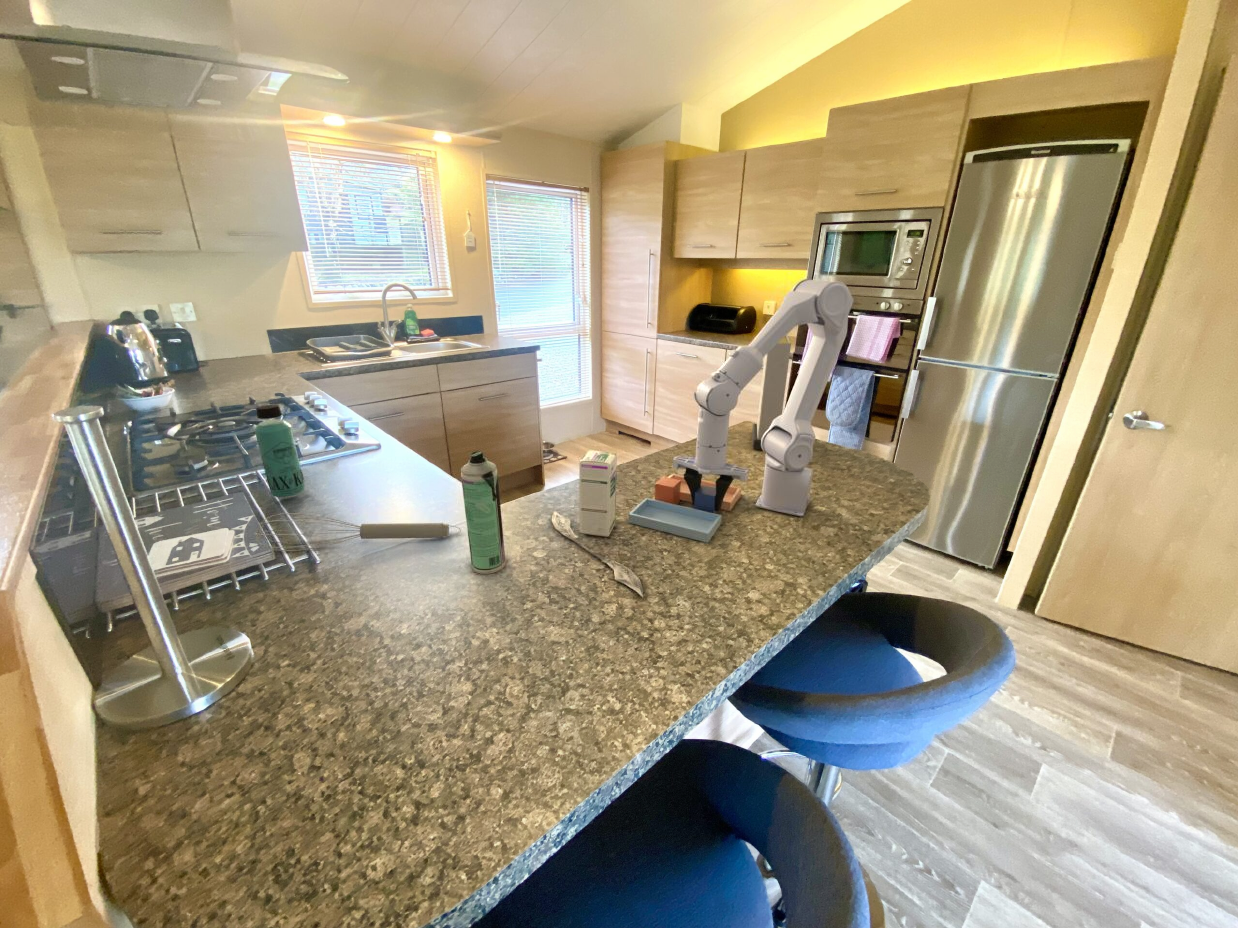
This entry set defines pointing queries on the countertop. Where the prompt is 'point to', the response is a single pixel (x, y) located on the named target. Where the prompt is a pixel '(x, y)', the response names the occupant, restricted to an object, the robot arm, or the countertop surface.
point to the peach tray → (730, 495)
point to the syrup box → (597, 492)
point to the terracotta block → (668, 490)
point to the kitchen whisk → (372, 531)
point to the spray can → (483, 514)
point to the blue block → (705, 499)
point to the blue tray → (675, 519)
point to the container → (772, 389)
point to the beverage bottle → (278, 453)
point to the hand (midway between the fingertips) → (706, 506)
